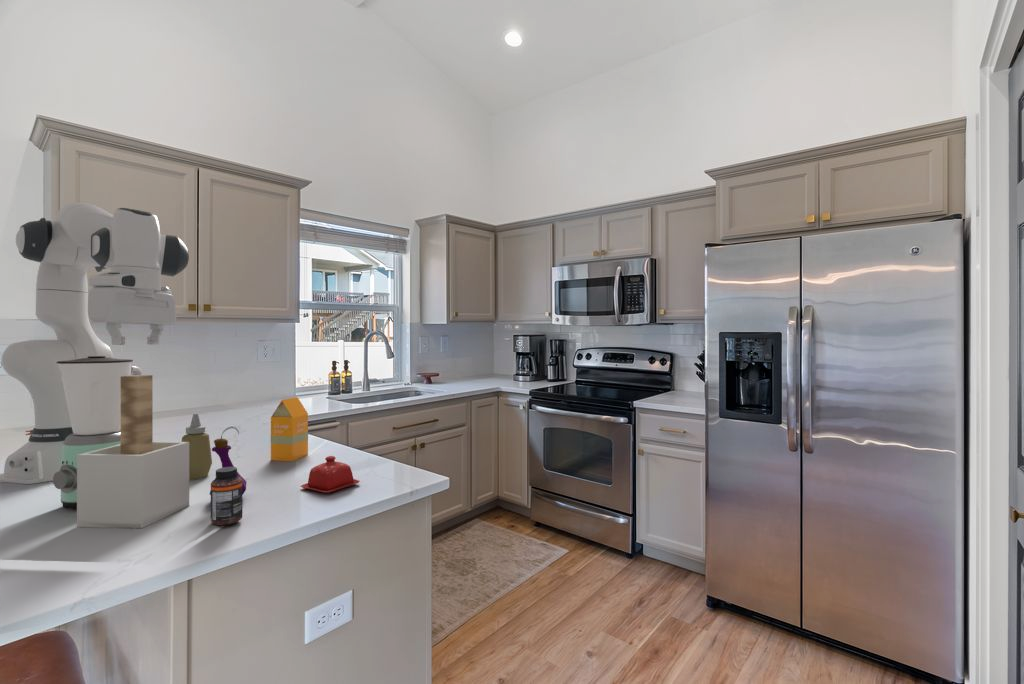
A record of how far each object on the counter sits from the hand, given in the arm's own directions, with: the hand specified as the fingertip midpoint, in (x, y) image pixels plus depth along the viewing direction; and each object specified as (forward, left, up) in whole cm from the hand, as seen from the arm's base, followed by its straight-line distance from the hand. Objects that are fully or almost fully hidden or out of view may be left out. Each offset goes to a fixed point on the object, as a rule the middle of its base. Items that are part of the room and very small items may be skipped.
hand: (136, 344), depth 109 cm
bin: (0, 0, -38) cm, 38 cm away
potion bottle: (+14, +11, -38) cm, 42 cm away
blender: (-16, +9, -38) cm, 43 cm away
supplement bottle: (+22, -2, -38) cm, 44 cm away
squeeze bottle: (-8, +30, -38) cm, 49 cm away
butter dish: (+34, +23, -38) cm, 56 cm away
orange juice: (+8, +52, -38) cm, 65 cm away
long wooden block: (0, 0, -37) cm, 37 cm away
